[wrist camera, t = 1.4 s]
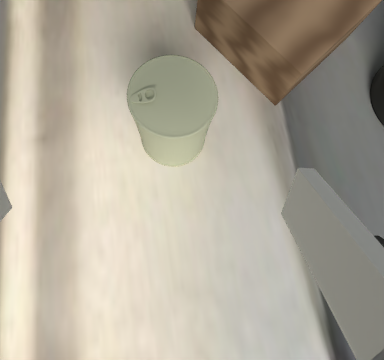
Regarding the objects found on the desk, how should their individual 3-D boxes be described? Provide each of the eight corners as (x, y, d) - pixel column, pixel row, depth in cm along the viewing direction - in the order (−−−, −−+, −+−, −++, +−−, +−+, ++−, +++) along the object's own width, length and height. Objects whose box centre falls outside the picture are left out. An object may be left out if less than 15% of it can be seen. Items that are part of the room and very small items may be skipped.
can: (137, 110, 36) (120, 54, 24) (199, 103, 37) (211, 46, 25) (145, 170, 34) (130, 143, 23) (209, 162, 35) (227, 131, 23)
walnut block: (345, 39, 41) (386, -5, 33) (275, 105, 38) (302, 74, 30) (268, -31, 42) (290, -89, 34) (194, 27, 39) (199, -22, 31)
